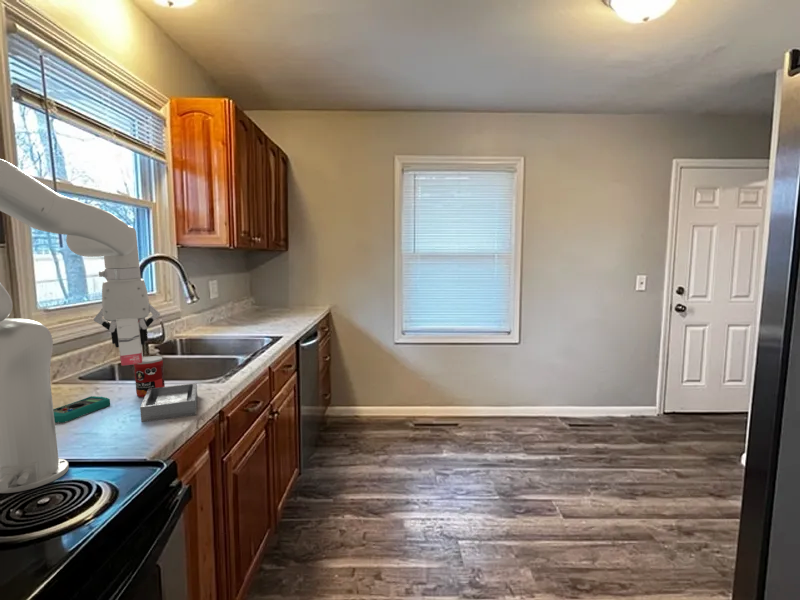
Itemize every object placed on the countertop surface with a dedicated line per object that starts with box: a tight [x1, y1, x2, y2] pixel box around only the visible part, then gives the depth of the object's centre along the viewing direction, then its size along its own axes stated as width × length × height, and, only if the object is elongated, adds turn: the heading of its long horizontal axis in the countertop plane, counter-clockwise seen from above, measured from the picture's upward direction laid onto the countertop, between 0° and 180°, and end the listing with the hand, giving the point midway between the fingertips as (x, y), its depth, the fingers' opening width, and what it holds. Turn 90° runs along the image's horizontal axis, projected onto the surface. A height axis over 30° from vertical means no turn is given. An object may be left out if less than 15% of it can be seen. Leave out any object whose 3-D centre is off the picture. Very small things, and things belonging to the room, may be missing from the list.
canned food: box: [133, 355, 166, 398], centre depth 146 cm, size 8×8×11 cm
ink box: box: [116, 318, 144, 366], centre depth 122 cm, size 9×5×12 cm, turn 27°
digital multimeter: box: [53, 395, 111, 424], centre depth 131 cm, size 7×15×3 cm, turn 163°
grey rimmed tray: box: [139, 382, 198, 423], centre depth 133 cm, size 18×13×4 cm
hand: (130, 344), depth 122 cm, fingers closed on ink box, 5 cm apart
